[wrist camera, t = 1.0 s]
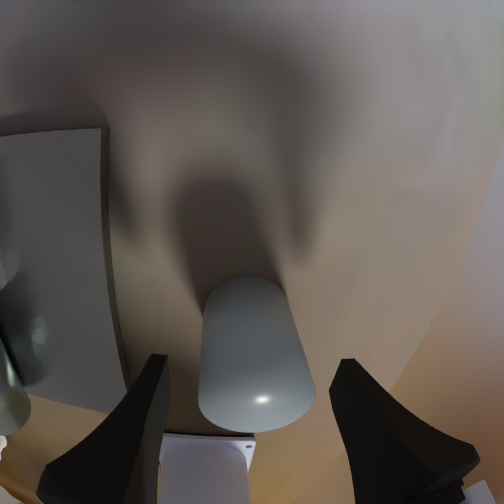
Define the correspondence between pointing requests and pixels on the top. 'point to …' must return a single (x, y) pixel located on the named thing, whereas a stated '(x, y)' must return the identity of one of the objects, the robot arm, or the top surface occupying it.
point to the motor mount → (57, 275)
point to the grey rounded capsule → (252, 358)
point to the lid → (2, 443)
